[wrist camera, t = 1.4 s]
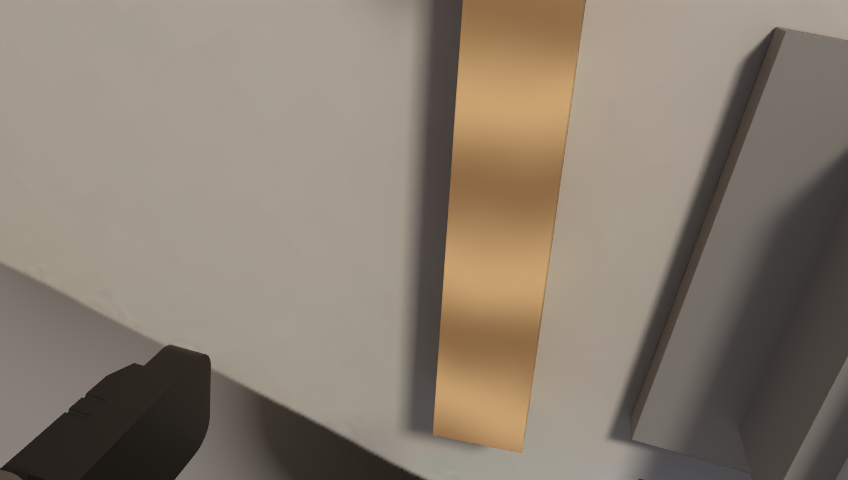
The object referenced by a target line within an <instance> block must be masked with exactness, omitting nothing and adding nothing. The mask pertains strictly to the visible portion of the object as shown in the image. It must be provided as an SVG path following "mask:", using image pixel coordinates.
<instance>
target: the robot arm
mask: <svg viewBox="0 0 848 480" xmlns="http://www.w3.org/2000/svg"><path fill="white" fill-rule="evenodd" d="M210 377H211V362H210V358H209V356H208V355H206V354H202V353H199V352H195V351H192V350H188V349H184V348H181V347H177V346H174V345H168V346H166V347H164V348H163V349H162V350H161V351H160V352H159V353H157V354H156V355H155V356H154V357H153V358H152V359H151V360H150V361H149V362H148V363H147V364H146V365H144V366H142V365H138V364H135V363H134V364H131V365H129V366H127V367H125V368H123V369H120V370H118V371H116V372H114V373H112V374H110V375H107V376H106V377H105V378H104V379H102V380H101V381H100V382H99V383H98V384H97V385H96V386H94V387H93V388H92V389H91V390H90V391H89V392H88V393H87V394H86V396H85V398H81V399H80V400H78V401H77V402H76V403H75V404H74V405H73V406H72V407H70V408H69V412H68V413H64V414H62V415H61V416H60V417H59V418H58V419H57V420H56V421H54V422H53V423H52V424H51V425H50V426H49V427H48V428H47V429H45V430H44V431H43V432H42V433H41V434H40V435H38V436H37V437H36V438H35V439H34V440H33V441H32V442H31V443H29V444H28V445H27V446H26V447H25V448H24V449H22V450H21V451H20V452H19V453H18V454H17V455H16V456H14V457H13V458H12V459H11V460H10V461H9V462H7V463H6V464H5V465H4V466H3V467H2V468H0V480H175V479H176V477H177V476H178V475H179V474H180V472H181V471H182V470H183V469H184V467H185V466H186V465H187V463H188V462H189V461H190V460H191V459H192V457H193V456H194V455H195V453H196V452H197V451H198V449H199V448H200V446H201V444H202V442H203V440H204V438H205V435H206V432H207V429H208V425H209V420H210V380H211V378H210ZM639 480H643V479H639Z"/></svg>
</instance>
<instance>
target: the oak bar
mask: <svg viewBox="0 0 848 480" xmlns="http://www.w3.org/2000/svg"><path fill="white" fill-rule="evenodd" d="M585 3H586V0H463V6H462V21H461V35H460V49H459V64H458V78H457V93H456V107H455V121H454V136H453V150H452V165H451V179H450V193H449V208H448V222H447V237H446V251H445V265H444V280H443V294H442V308H441V323H440V337H439V352H438V366H437V380H436V395H435V409H434V424H433V435H434V436H439V437H444V438H449V439H454V440H459V441H464V442H469V443H474V444H479V445H484V446H489V447H494V448H499V449H504V450H509V451H514V452H519V453H522V449H523V442H524V436H525V430H526V423H527V417H528V411H529V404H530V398H531V390H532V383H533V376H534V369H535V362H536V355H537V347H538V340H539V333H540V326H541V319H542V312H543V304H544V297H545V290H546V283H547V276H548V268H549V261H550V254H551V247H552V240H553V233H554V225H555V218H556V211H557V204H558V197H559V190H560V182H561V175H562V168H563V161H564V154H565V147H566V139H567V132H568V125H569V118H570V111H571V103H572V96H573V89H574V82H575V75H576V68H577V60H578V53H579V46H580V39H581V32H582V25H583V17H584V10H585Z"/></svg>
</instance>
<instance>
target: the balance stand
mask: <svg viewBox="0 0 848 480" xmlns="http://www.w3.org/2000/svg"><path fill="white" fill-rule="evenodd" d="M631 434H632V440H635V441H638V442H642V443H645V444H649V445H653V446H656V447H660V448H663V449H667V450H670V451H674V452H677V453H681V454H684V455H688V456H691V457H695V458H699V459H702V460H706V461H709V462H713V463H716V464H720V465H723V466H727V467H730V468H734V469H737V470H741V471H744V472H748V473H751V475H752V479H753V480H848V40H843V39H837V38H832V37H827V36H821V35H816V34H811V33H806V32H800V31H795V30H790V29H784V28H779V27H776V28H775V31H774V33H773V36H772V39H771V41H770V44H769V47H768V50H767V52H766V55H765V58H764V60H763V63H762V66H761V68H760V71H759V74H758V77H757V79H756V82H755V85H754V87H753V90H752V93H751V95H750V98H749V101H748V103H747V106H746V109H745V112H744V114H743V117H742V120H741V122H740V125H739V128H738V130H737V133H736V136H735V139H734V141H733V144H732V147H731V149H730V152H729V155H728V157H727V160H726V163H725V166H724V168H723V171H722V174H721V176H720V179H719V182H718V184H717V187H716V190H715V193H714V195H713V198H712V201H711V203H710V206H709V209H708V211H707V214H706V217H705V219H704V222H703V225H702V228H701V230H700V233H699V236H698V238H697V241H696V244H695V246H694V249H693V252H692V255H691V257H690V260H689V263H688V265H687V268H686V271H685V273H684V276H683V279H682V282H681V284H680V287H679V290H678V292H677V295H676V298H675V300H674V303H673V306H672V309H671V311H670V314H669V317H668V319H667V322H666V325H665V327H664V330H663V333H662V335H661V338H660V341H659V344H658V346H657V349H656V352H655V354H654V357H653V360H652V362H651V365H650V368H649V371H648V373H647V376H646V379H645V381H644V384H643V387H642V389H641V392H640V395H639V398H638V400H637V403H636V406H635V408H634V411H633V414H632V416H631Z"/></svg>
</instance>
